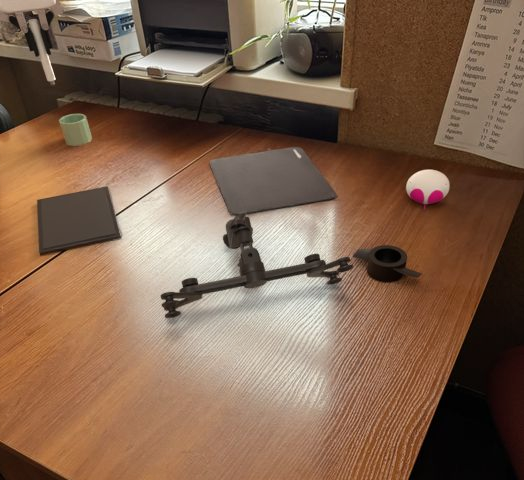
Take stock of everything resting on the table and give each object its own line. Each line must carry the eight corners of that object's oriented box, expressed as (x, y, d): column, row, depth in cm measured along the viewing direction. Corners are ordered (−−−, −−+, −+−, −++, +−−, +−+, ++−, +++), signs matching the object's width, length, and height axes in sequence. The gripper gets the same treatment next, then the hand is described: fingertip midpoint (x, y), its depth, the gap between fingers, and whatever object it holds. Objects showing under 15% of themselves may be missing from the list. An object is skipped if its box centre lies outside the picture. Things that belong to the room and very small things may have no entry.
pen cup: (63, 148, 119) (55, 124, 115) (69, 138, 123) (62, 114, 119) (90, 146, 119) (83, 122, 115) (94, 136, 123) (88, 112, 119)
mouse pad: (339, 198, 96) (339, 197, 96) (230, 216, 93) (230, 215, 92) (300, 146, 113) (300, 145, 113) (208, 160, 110) (208, 159, 110)
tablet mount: (169, 331, 82) (161, 304, 65) (151, 249, 84) (138, 203, 67) (326, 298, 86) (355, 265, 69) (305, 221, 88) (329, 171, 72)
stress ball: (401, 219, 96) (402, 203, 89) (407, 181, 97) (409, 162, 90) (443, 223, 94) (447, 206, 87) (449, 183, 95) (453, 164, 88)
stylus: (47, 86, 100) (27, 21, 92) (49, 83, 101) (29, 19, 93) (56, 85, 100) (35, 20, 92) (57, 83, 101) (38, 18, 93)
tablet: (38, 202, 100) (36, 199, 100) (108, 189, 103) (107, 185, 102) (40, 255, 87) (38, 252, 86) (121, 238, 89) (120, 234, 89)
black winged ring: (391, 249, 83) (394, 234, 81) (424, 283, 76) (427, 267, 74) (349, 259, 82) (350, 244, 80) (378, 295, 75) (380, 279, 73)
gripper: (51, -77, 87) (82, 43, 100) (-45, -69, 84) (0, 55, 97) (53, -74, 82) (86, 53, 95) (-49, -64, 79) (0, 65, 92)
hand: (43, 53), depth 96 cm, fingers closed on stylus, 1 cm apart
